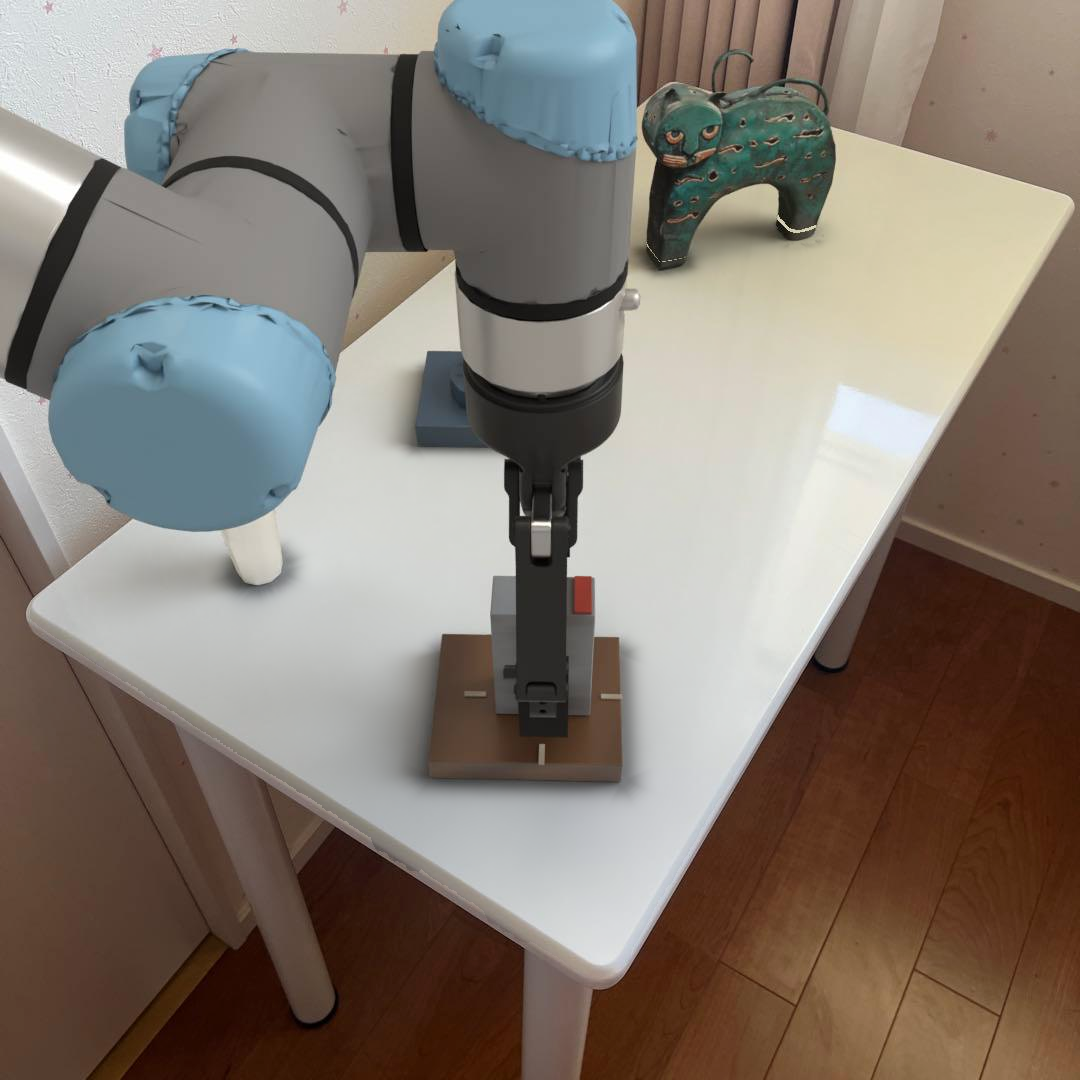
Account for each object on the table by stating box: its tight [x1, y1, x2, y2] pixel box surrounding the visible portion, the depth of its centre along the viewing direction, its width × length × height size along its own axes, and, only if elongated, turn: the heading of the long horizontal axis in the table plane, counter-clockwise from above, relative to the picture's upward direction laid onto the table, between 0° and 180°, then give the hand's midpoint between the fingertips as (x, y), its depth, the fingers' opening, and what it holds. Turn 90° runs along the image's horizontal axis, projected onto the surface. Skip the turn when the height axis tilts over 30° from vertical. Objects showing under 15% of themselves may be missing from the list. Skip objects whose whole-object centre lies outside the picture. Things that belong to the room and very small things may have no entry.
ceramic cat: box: [641, 48, 837, 271], centre depth 104 cm, size 20×6×20 cm, turn 109°
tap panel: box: [427, 633, 624, 783], centre depth 72 cm, size 12×10×2 cm
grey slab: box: [489, 575, 596, 716], centre depth 67 cm, size 6×3×10 cm, turn 89°
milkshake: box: [218, 508, 284, 586], centre depth 78 cm, size 5×5×10 cm
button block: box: [415, 350, 489, 448], centre depth 92 cm, size 12×10×4 cm
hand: (546, 636), depth 67 cm, fingers open, 13 cm apart
